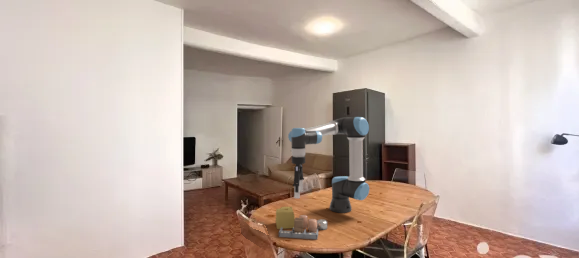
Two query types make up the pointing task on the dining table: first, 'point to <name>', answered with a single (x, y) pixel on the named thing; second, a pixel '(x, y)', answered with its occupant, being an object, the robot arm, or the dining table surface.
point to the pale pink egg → (312, 225)
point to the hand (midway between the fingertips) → (298, 194)
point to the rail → (298, 234)
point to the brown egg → (304, 220)
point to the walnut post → (298, 225)
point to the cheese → (285, 218)
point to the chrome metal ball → (321, 224)
